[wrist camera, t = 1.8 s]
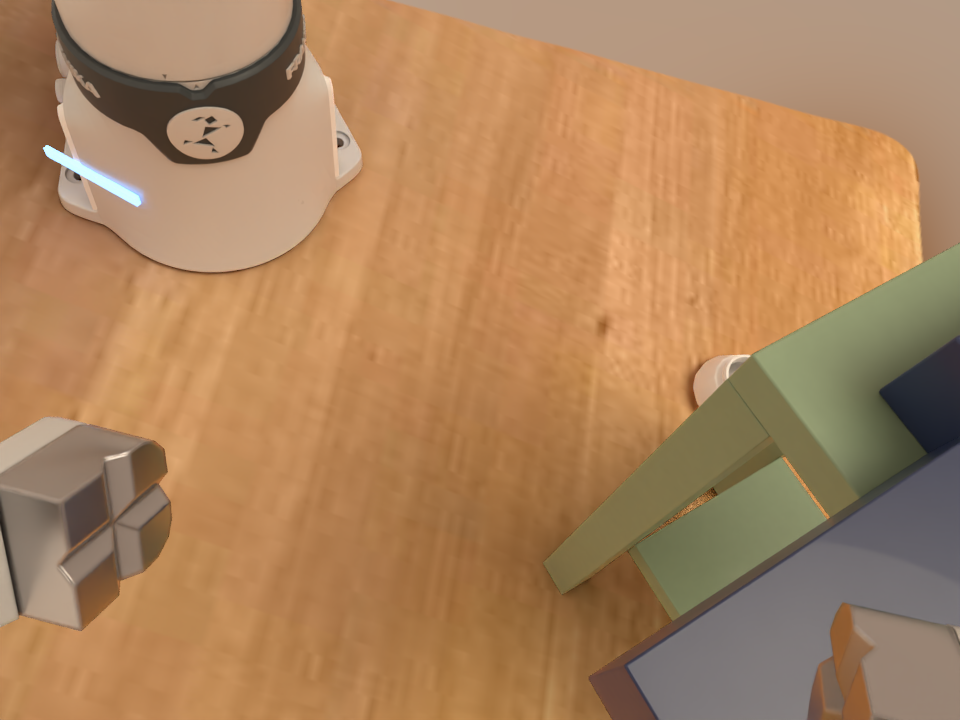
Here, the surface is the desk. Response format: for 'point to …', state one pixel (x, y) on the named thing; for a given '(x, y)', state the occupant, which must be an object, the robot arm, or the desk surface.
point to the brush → (814, 583)
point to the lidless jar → (715, 374)
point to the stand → (773, 445)
